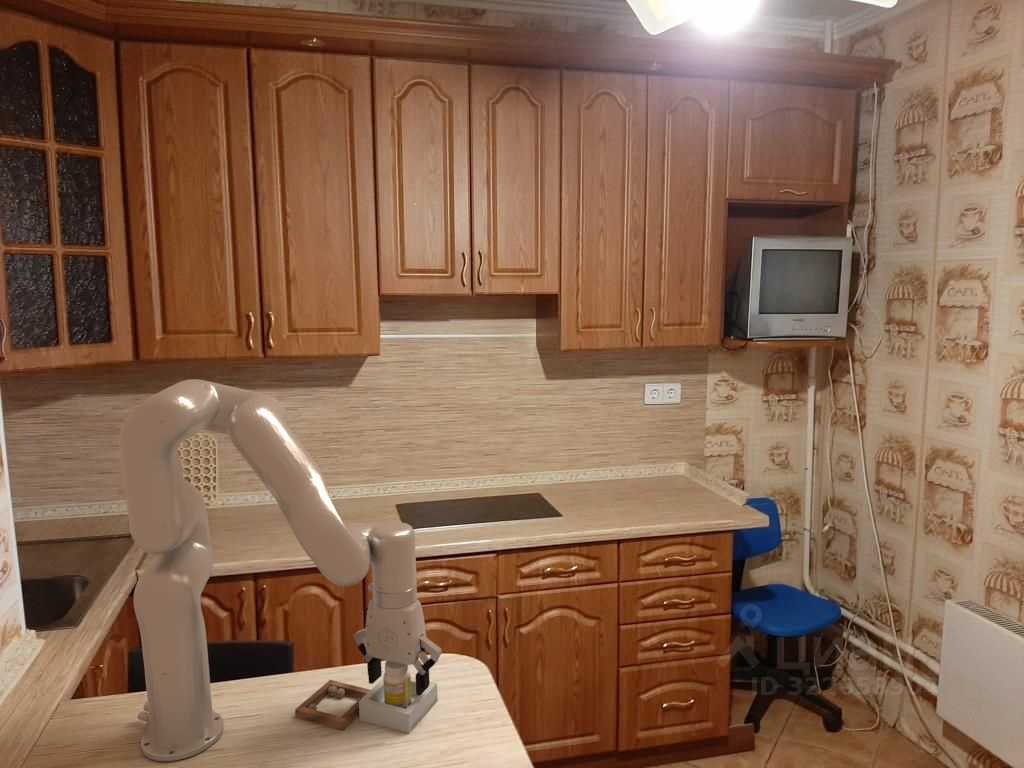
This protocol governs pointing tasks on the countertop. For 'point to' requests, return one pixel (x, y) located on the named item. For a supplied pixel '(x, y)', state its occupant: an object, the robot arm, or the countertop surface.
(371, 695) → the grey square open box
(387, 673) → the supplement bottle
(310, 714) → the tray
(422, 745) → the countertop surface
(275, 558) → the countertop surface
